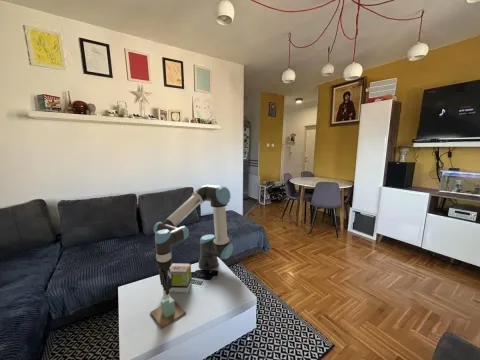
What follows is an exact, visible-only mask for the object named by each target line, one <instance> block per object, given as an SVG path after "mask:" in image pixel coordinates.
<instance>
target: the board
mask: <svg viewBox="0 0 480 360" xmlns="http://www.w3.org/2000/svg"><path fill="white" fill-rule="evenodd" d="M172 299H173V300H174V303H175V313H174V314H172V315H170V316H169V317H167V318H166V317H165V316H164V315H163V314H162V310H161V305H160V306H158V307H157V308H155V309H153V310H152V311H150V315H151V316H152V317H153V319H154V321H155V322H156V323H157V325H158V326H159V327H160V329H161V330H162V329H164V328H166V327H167V326H169V325H170V324H172V323H173V322H175V321H176V320H178V319H179V318H181V317H183V316H184V315H186V314H187V311H186V310H185V309H183V307H182V306H181V305H180V304H179V303H178V302H177V301H176V300H175V299H174V298H172Z"/></svg>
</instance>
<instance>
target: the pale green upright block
mask: <svg viewBox="0 0 480 360" xmlns="http://www.w3.org/2000/svg"><path fill="white" fill-rule="evenodd" d="M173 299H174V298H172V296H170V298H169V299H167V300H164V298H163V299H161V300H160V306H161V310H162V314H163V315H164V316H165V317H166V318H167V317H169V316H170V315H172V314H174V313H175V303H174V300H175V299H174V300H173Z"/></svg>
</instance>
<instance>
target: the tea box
mask: <svg viewBox="0 0 480 360" xmlns="http://www.w3.org/2000/svg"><path fill="white" fill-rule="evenodd" d="M170 274H171V275H173V277H172V287H171V289H169V293H184V294H185V293H189V290H190V288H191V285H192V283H191V282H193V281H192V265H191V263H187V262H185V263H182V262H179V263H178V262H177V263H173V262H172V265H171V266H170Z"/></svg>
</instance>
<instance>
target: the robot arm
mask: <svg viewBox="0 0 480 360" xmlns="http://www.w3.org/2000/svg"><path fill="white" fill-rule="evenodd" d="M230 199H231V192H230V190H229V189H228V188H227V187H226V186H223V185H217V184H216V185H215V184H205V185H202V186H200V187H198V188H196V190H194V191H193V192H192V193H191V195H190V197H188V199H187V200H186V201H185V202H183V203H182V204H181V205H180V206H179V207H178V208H177V209H176V210H174V212H172V214H171V213H170V214H169V216H168V217H167V218H165V220H163V221H158V222H156V223H155V224H154V225H153V232H154V242H155V243H154V245H155V255H156V256H155V259H156V267H157V270H158V274H159V279H160V285H161V286H162V292H163V299H164V300H167V299H169V298H170V297H171V295H170V293H171V292H169V289H171V287H172V277H173V275H171V274H170V266H171V265H172V263H173V259H172V246H174V245H176V244H178V243H180V242H182V241H184V240H186V239H187V238H188V237H189V235H190V232H189V229H188V227H187V226H185V225H181V226H179V227H177V226H178V225H180V223H182V221H183V220H184V219H185V218H186V217H187V216H189V215H190V214H191V213H192V212H193V211H194V210H195V209H196V208H197V207H198V206H199V205H201V204H203V203H204V202H209V203H210V207H211V208H212V210H213V211H212V212H213V213H212V214H213V225H214V234H204V235H202V236H201V238H200V239H199V249H200V252H199V253H200V257H199V260H198V267H199V268H200V269H202V270H206V269H208V270H213V269H214V268H216V267H218V265H219V259H218V258H220V259H222V260H227V259H229V258H230V256H231V255H232V253H233V251H234V245H233V243H230V238H229V237H228V228H227V227H228V226H227V213H226V212H227V210H226V207H227V206H228V204H229V203H230Z"/></svg>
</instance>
